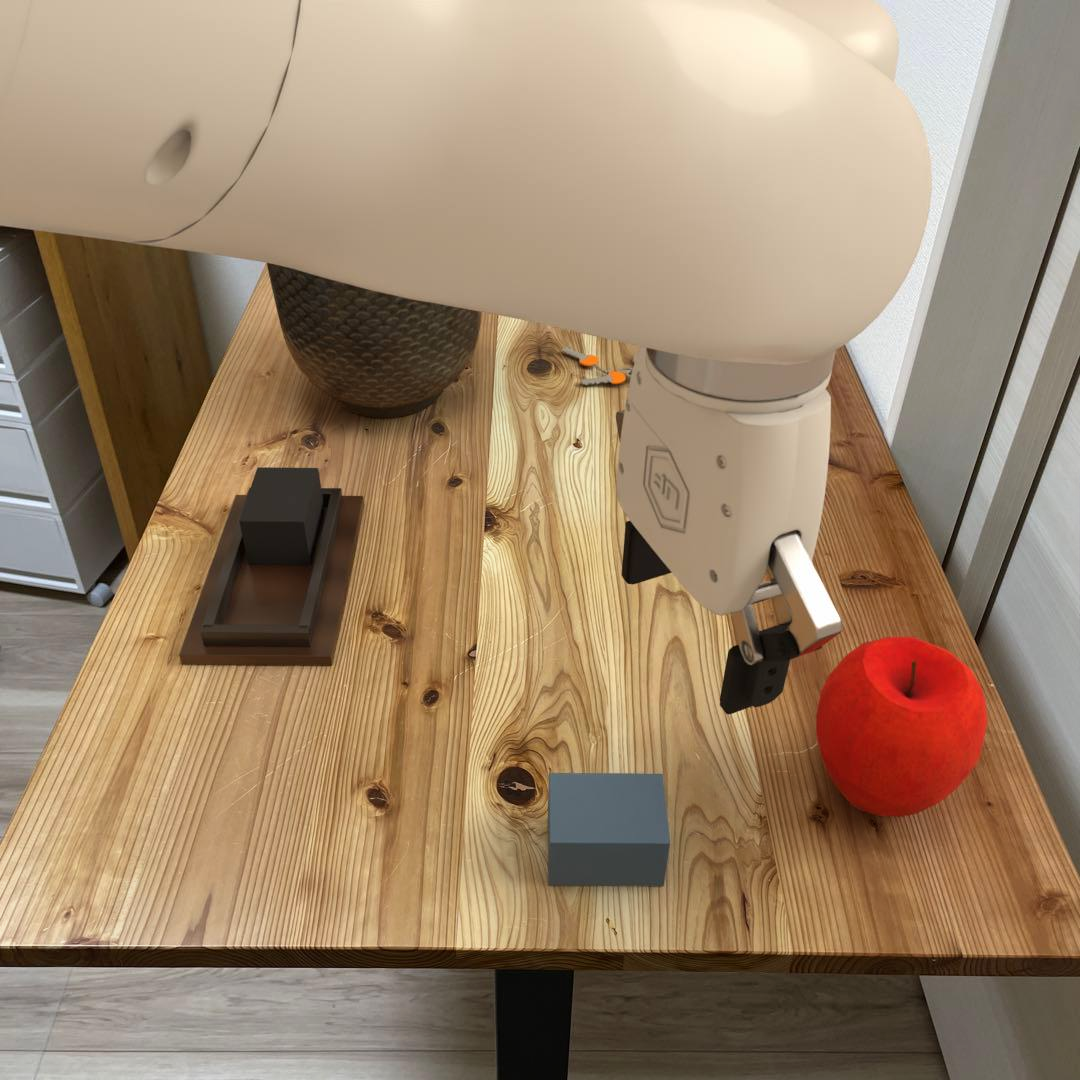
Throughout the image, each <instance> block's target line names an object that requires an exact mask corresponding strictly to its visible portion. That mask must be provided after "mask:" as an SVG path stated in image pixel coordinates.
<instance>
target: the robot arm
mask: <svg viewBox="0 0 1080 1080" xmlns="http://www.w3.org/2000/svg"><path fill="white" fill-rule="evenodd" d="M898 34H899V33H898V31H897V27H896V25H895V22H894V20H893V17H892V16H891V15H890V14H889V12H888V11H887V10H886V8H884V7H883V6H882V5H881V4H880V3H878V2H877V1H875V0H0V227H7V228H8V227H9V228H14V229H15V228H16V229H24V230H31V231H38V232H39V231H40V232H47V233H53V234H61V235H69V236H78V237H84V238H92V239H99V240H106V241H107V240H109V241H113V242H114V241H115V242H122V243H129V244H135V245H141V246H142V245H143V246H150V247H157V248H164V249H172V250H179V251H185V252H186V251H187V252H192V253H193V252H194V253H200V254H208V255H214V256H221V257H228V258H233V259H234V258H236V259H241V260H247V261H248V260H249V261H255V262H261V263H266V264H267V263H271V264H275V265H280V266H284V267H288V268H293V269H296V270H299V271H303V272H306V273H309V274H313V275H316V276H320V277H323V278H327V279H330V280H334V281H338V282H342V283H346V284H350V285H353V286H357V287H361V288H364V289H368V290H372V291H377V292H381V293H386V294H390V295H395V296H399V297H404V298H408V299H413V300H418V301H424V302H431V303H437V304H442V305H447V306H453V307H458V308H464V309H469V310H474V311H480V312H482V313H486V314H491V315H495V316H501V317H506V318H510V319H517V320H521V321H526V322H530V323H535V324H540V325H543V326H544V325H545V326H548V327H553V328H557V329H562V330H566V331H570V332H574V333H577V334H578V333H579V334H583V335H588V336H591V337H595V338H601V339H604V340H605V339H606V340H610V341H612V342H613V341H614V342H618V343H623V344H627V345H632V346H636V347H638V349H637V351H636V354H635V355H636V359H635V362H633V366H632V368H633V369H632V373H630V375H631V379H630V380H629V382H628V383H629V384H628V388H627V394H626V398H625V404H624V405H625V406H624V409H622V410H618V411H616V413H615V422H616V428H617V435H618V440H619V449H618V457H617V467H616V478H615V481H616V482H615V493H616V498H617V500H618V503H619V505H620V507H621V509H622V511H623V513H624V515H625V517H627V519H628V520H627V521H625V525H624V528H625V529H624V537H623V550H622V551H623V552H622V553H623V554H622V564H621V577H622V579H623V580H624V581H625V583H626V584H627V585H637V584H640V583H643V582H646V581H650V580H653V579H657V578H659V577H662V576H667V575H669V574H672V575H673V576H674V577H675V578H676V579H677V581H678V582H679V583H680V584H681V586H682V587H683V588H684V589H685V590H686V591H687V593H688V594H689V595H690V596H691V597H692V598H693V599H694V600H695V601H696V602H697V603H698V604H699V605H701V606H702V607H703V608H704V609H706V610H707V611H709V612H710V613H713V614H715V615H717V616H720V617H722V616H727V615H728V614H729V615H730V619H731V623H732V625H733V629H734V633H735V637H736V642H737V644H736V645H733V646H731V647H730V648H729V650H728V651H727V656H726V657H727V658H726V662H725V666H724V672H723V677H722V678H723V679H722V685H721V690H720V695H719V706H720V708H721V709H722V711H723V712H724V713H725V714H726V715H733V714H735V713H738V712H742V711H744V710H747V709H749V708H752V707H753V708H761V707H763V706H766V705H768V704H770V703H772V702H773V701H775V700H776V699H778V697H779V696H781V694H782V693H783V691H784V688H785V683H786V680H787V675H788V671H789V667H790V664H791V663H790V662H791V660H793V659H796V658H799V657H802V656H804V655H807V654H810V653H813V652H816V651H818V650H821V649H822V648H823V646H824V645H827V643H829V642H830V641H831V640H833V639H835V637H837V636H839V635H840V634H841V633H842V631H843V622H842V619H841V617H840V615H839V612H838V611H837V609H836V607H835V605H834V603H833V601H832V599H831V597H830V595H829V593H828V591H827V588H826V587H825V585H824V583H823V581H822V579H821V577H820V575H819V573H818V571H817V569H816V567H815V566H814V563H813V559H814V555H815V550H816V548H817V547H816V546H817V542H818V536H819V533H820V528H821V522H822V517H823V516H822V515H823V508H824V504H825V503H824V502H825V496H826V488H827V479H828V469H829V460H830V459H829V458H830V448H831V447H830V445H831V422H832V421H831V419H832V416H831V415H832V397H831V395H830V393H829V391H828V390H827V389H826V388H827V387H828V385H830V381H831V376H832V373H833V367H834V364H835V363H834V362H835V357H836V354H837V350H838V349H840V348H841V347H843V346H845V345H846V344H848V343H849V342H851V341H852V340H853V339H855V338H856V337H857V336H859V335H860V334H862V332H863V331H865V330H866V329H867V328H868V327H869V326H870V325H871V324H872V323H873V322H874V321H875V320H876V319H878V317H880V315H881V314H882V313H883V311H884V310H886V308H887V307H888V305H889V304H890V303H891V302H892V300H893V299H894V298H895V296H896V295H897V293H898V291H899V290H900V288H901V287H902V285H903V283H904V282H905V280H906V279H907V277H908V275H909V273H910V271H911V268H912V267H913V265H914V264H915V263H914V262H915V261H916V259H917V256H918V253H919V251H920V248H921V246H922V245H921V244H922V242H923V239H924V236H925V232H926V229H927V223H928V218H929V215H930V208H931V198H932V189H933V186H932V184H933V182H932V181H933V178H932V177H933V176H932V160H931V154H930V148H929V143H928V137H927V135H926V133H925V129H924V127H923V124H922V121H921V117H920V116H919V115H918V113H917V110H916V109H915V107H914V105H913V104H912V102H911V100H910V98H909V96H907V94H906V93H905V92H904V91H903V90H902V88H901V87H899V86H898V84H897V83H896V82H895V78H896V73H897V72H896V71H897V67H898V60H899V53H900V41H899V35H898ZM766 574H768V577H769V579H768V580H766V581H764V582H763V580H764V578H765V577H766ZM770 599H771V601H772V605H773V608H774V613H775V616H776V620H777V623H778V624H775V625H773V626H770V627H767V628H765V629H762V630H760V629H759V626H758V622H757V618H756V613H755V610H754V607H753V606H754V605H755V604H758V603H761V602H764V601H767V600H770Z"/></svg>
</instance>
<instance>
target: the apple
mask: <svg viewBox="0 0 1080 1080" xmlns="http://www.w3.org/2000/svg"><path fill="white" fill-rule="evenodd" d="M986 702H987V701H986V697H985V694H984V692H983V688H982V686H981V684H980V682H979V681H978V679H977V677H976V675H975V674H974V672H973V671H972V669H971V668H970V667H969V666H968V665H966V663H964V662H963V661H962V660H961V659H959V658H958V657H957V656H956V655H954V653H952V652H951V651H950V650H948V649H946V648H943V647H941V646H938V645H935V644H933V643H931V642H928V641H925V640H923V639H920V638H917V637H915V636H886V637H881V638H878V639H875V640H870V641H867V642H863V643H861V644H860V645H858V646H857V647H856V648H854V649H853V650H851V651H849V652H848V653H847V654H846V655H845V656H844V657H843V658H842V659H841V660H840V662H839V663H838V664H837V665H836V667H835V668H834V669H833V670H832V671H831V672H830V673H829V674H828V676H827V677H826V680H825V681H824V684H823V686H822V688H821V691H820V696H819V701H818V706H817V709H816V714H815V734H816V740H817V744H818V748H819V753H820V757H821V760H822V763H823V765H824V768H825V770H826V773H828V775H829V777H830V779H831V780H832V782H833V783H834V784H835V786H836V788H837V789H838V790H839V792H840V793H841V795H842V796H844V797H845V799H846V800H847V801H848V802H849V803H850V804H851V805H852V806H853V807H856V808H857V809H858V810H861V811H862V812H865V813H869V814H871V815H874V816H877V817H878V816H879V817H894V818H901V817H907V816H911V815H916V814H920V813H921V812H923V811H925V810H927V809H930V808H931V807H933V806H936V805H937V804H939V803H941V802H942V801H944V800H945V799H946V798H948V797H949V796H950V795H951V794H952V793H953V792H954V791H956V789H958V788H959V787H960V785H962V783H963V782H964V781H965V780H966V778H967V777H968V776H969V775H970V774H971V772H972V770H973V769H974V768H975V765H976V764H977V763H978V761H979V760H980V758H981V754H982V751H983V746H984V741H985V735H986V731H987V726H988V721H989V720H988V712H987V703H986Z"/></svg>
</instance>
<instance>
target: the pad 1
mask: <svg viewBox="0 0 1080 1080" xmlns="http://www.w3.org/2000/svg"><path fill="white" fill-rule="evenodd" d="M250 487H251V488H250ZM250 487H249V488H250V491H249V494H248V497H247V499H246V502H245V505H244V508H243V511H242V514H241V517H240V520H239V523H240V527H241V532H242V536H243V541H244V546H245V550H246V555H247V559H248V564H249V565H311V564H312V560H313V556H314V552H315V548H316V544H317V540H318V536H319V532H320V527H321V523H322V519H323V515H324V511H325V509H324V502H323V496H322V489H321V488H322V483H321V477H320V469H319V467H277V466H276V467H275V466H274V467H265V466H263V467H261V466H258V467H257V468H256V471H255V473H254V476H253V479H252V482H251V485H250Z"/></svg>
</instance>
